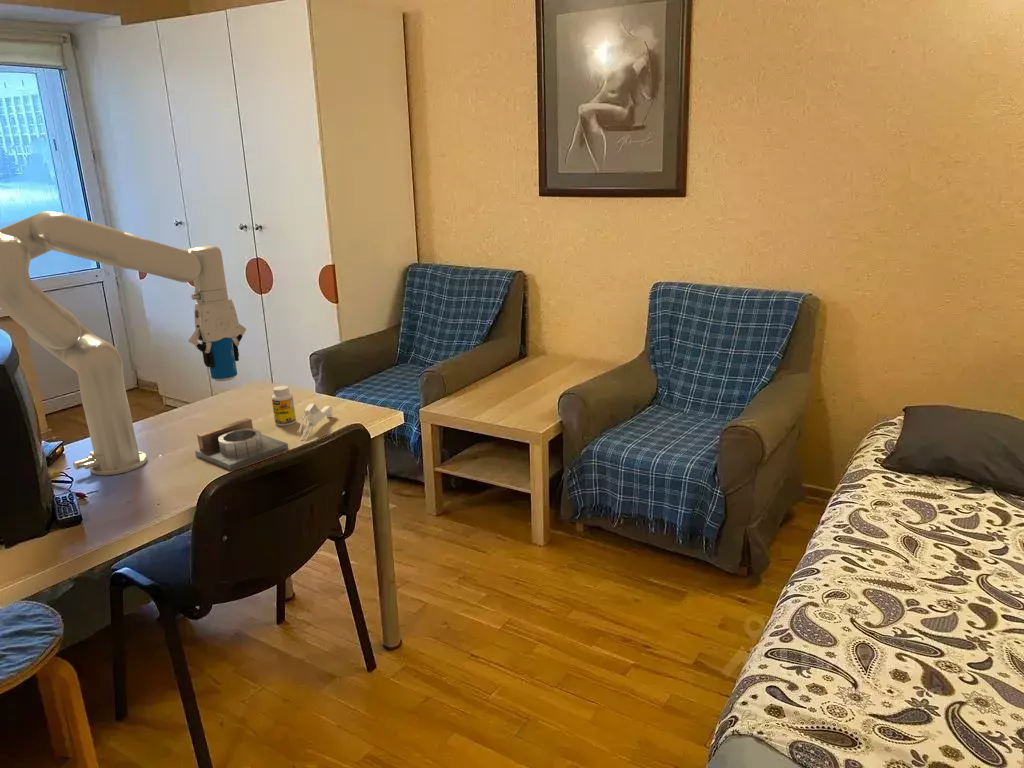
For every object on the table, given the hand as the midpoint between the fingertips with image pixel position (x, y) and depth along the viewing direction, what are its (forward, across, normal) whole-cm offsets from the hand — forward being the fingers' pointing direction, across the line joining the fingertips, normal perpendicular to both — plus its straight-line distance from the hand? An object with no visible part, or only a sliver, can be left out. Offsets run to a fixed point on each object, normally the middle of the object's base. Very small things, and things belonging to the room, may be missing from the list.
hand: (222, 363), depth 202 cm
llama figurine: (+20, +14, -18) cm, 30 cm away
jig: (+19, -7, -15) cm, 25 cm away
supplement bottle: (+19, +12, -6) cm, 24 cm away
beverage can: (+4, 0, 0) cm, 4 cm away
